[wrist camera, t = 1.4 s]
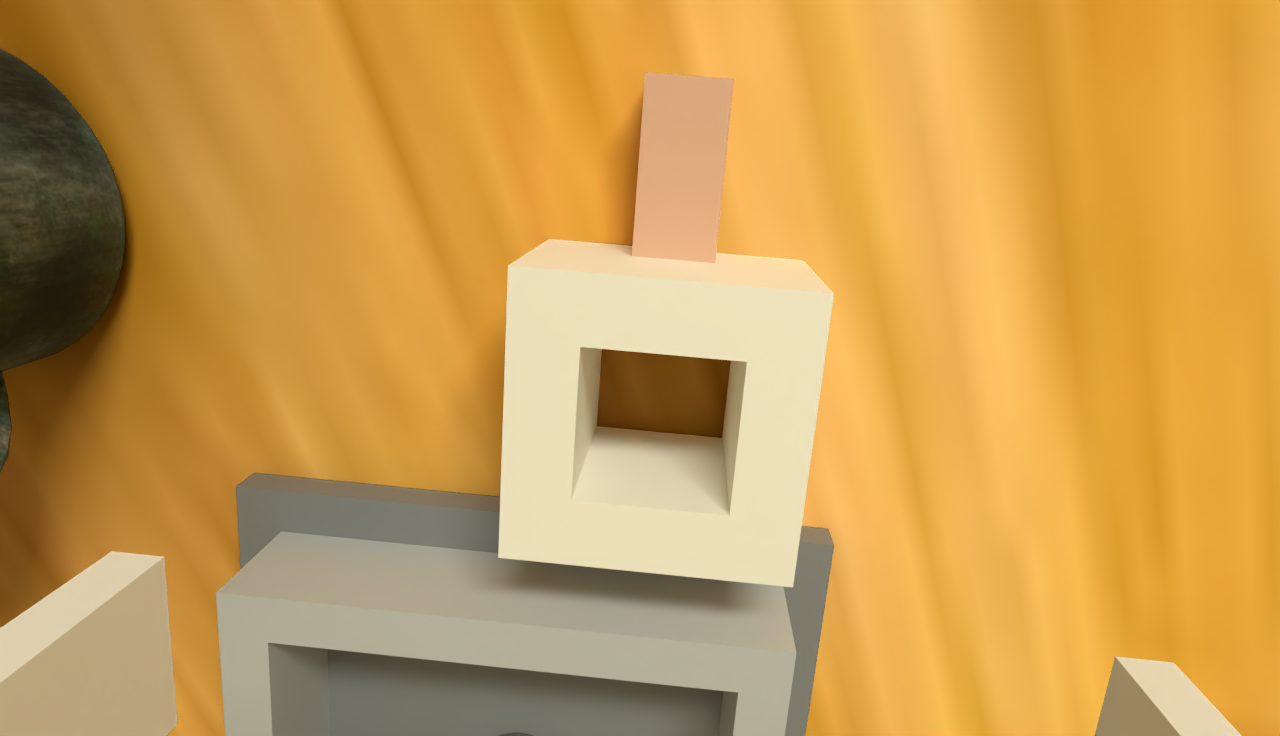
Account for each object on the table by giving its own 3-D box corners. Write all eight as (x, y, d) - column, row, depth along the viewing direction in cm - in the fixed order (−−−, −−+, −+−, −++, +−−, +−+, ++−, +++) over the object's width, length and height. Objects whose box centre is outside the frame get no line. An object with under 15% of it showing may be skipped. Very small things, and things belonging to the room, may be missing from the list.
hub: (772, 496, 28) (792, 587, 22) (538, 473, 28) (498, 557, 23) (824, 92, 25) (864, 76, 19) (557, 72, 25) (515, 50, 19)
